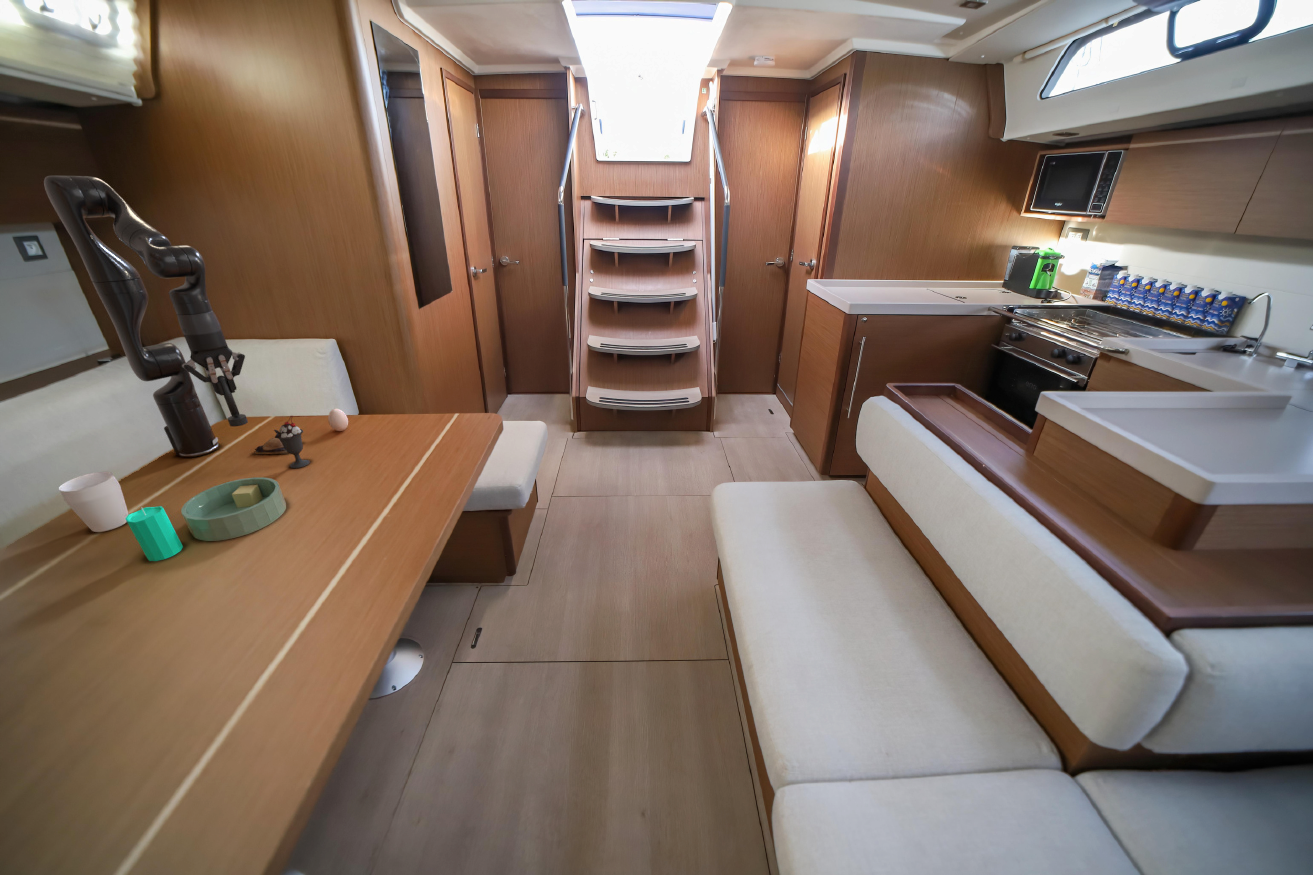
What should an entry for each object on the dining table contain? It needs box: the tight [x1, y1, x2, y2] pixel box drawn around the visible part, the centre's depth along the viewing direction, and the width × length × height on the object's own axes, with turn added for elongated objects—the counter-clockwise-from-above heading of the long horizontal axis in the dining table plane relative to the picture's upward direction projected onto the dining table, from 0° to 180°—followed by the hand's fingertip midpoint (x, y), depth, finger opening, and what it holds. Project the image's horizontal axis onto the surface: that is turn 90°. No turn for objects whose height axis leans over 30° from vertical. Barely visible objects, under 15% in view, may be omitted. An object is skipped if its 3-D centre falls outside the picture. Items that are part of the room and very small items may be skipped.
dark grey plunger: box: [217, 375, 249, 428], centre depth 135 cm, size 4×4×14 cm
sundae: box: [273, 415, 310, 469], centre depth 144 cm, size 7×7×15 cm
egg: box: [327, 408, 349, 432], centre depth 166 cm, size 6×6×8 cm
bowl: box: [180, 476, 287, 542], centre depth 122 cm, size 19×19×6 cm
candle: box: [126, 505, 184, 562], centre depth 108 cm, size 6×6×12 cm
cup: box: [58, 471, 130, 533], centre depth 117 cm, size 9×9×12 cm
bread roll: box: [254, 437, 289, 455], centre depth 155 cm, size 11×8×4 cm
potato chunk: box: [232, 485, 263, 508], centre depth 127 cm, size 4×4×4 cm
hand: (226, 393), depth 135 cm, fingers closed on dark grey plunger, 2 cm apart
